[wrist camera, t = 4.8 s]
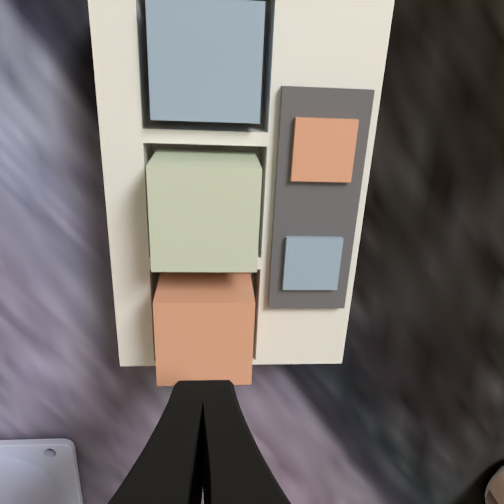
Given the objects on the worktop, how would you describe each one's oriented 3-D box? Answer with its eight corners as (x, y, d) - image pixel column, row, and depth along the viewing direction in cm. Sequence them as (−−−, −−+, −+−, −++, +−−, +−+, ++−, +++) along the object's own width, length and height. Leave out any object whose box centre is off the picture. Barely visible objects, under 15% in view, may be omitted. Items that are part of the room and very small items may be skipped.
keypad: (133, 321, 19) (117, 375, 15) (110, -12, 14) (80, -34, 11) (323, 320, 19) (345, 372, 16) (361, 3, 15) (403, -14, 11)
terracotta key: (164, 342, 16) (156, 386, 14) (161, 268, 15) (152, 303, 13) (246, 341, 17) (251, 384, 14) (249, 268, 16) (255, 302, 13)
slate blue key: (160, 111, 14) (150, 119, 12) (156, 5, 13) (144, -6, 11) (252, 114, 15) (259, 123, 13) (256, 11, 14) (265, 1, 11)
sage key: (160, 240, 15) (150, 271, 13) (156, 149, 14) (146, 166, 12) (250, 241, 15) (256, 272, 13) (254, 152, 14) (262, 169, 12)
